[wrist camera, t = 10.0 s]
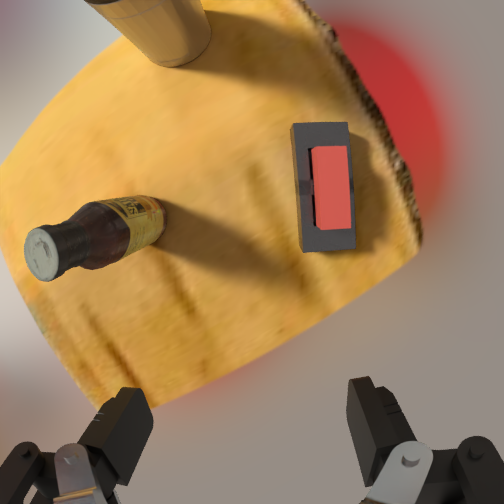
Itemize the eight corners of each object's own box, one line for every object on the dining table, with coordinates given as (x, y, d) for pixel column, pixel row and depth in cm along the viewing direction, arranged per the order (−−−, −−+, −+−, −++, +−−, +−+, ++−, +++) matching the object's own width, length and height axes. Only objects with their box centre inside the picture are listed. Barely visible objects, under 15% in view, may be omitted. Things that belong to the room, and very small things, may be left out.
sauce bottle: (170, 195, 36) (76, 213, 16) (167, 245, 37) (81, 305, 18) (124, 193, 36) (14, 209, 17) (122, 240, 37) (20, 289, 18)
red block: (306, 153, 33) (315, 146, 27) (331, 152, 33) (346, 145, 26) (310, 220, 35) (321, 230, 28) (335, 219, 35) (351, 228, 28)
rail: (290, 129, 33) (292, 123, 29) (339, 128, 33) (347, 121, 29) (299, 245, 36) (303, 252, 32) (346, 241, 36) (355, 248, 32)
